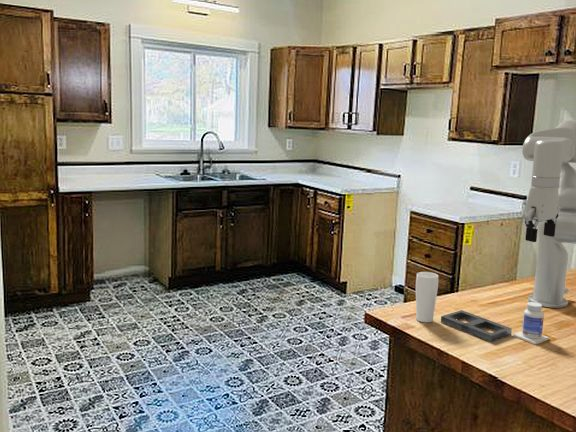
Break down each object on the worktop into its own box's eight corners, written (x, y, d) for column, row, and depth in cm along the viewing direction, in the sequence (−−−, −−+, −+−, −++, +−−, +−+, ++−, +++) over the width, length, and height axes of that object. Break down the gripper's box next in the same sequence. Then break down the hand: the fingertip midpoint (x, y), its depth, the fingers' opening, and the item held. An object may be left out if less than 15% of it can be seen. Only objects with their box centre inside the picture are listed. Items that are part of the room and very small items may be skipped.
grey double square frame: (461, 315, 175) (461, 310, 175) (511, 334, 161) (511, 328, 161) (440, 322, 170) (441, 316, 169) (490, 342, 155) (491, 335, 155)
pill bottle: (543, 340, 156) (547, 308, 154) (523, 338, 157) (527, 306, 155) (539, 332, 161) (542, 301, 159) (519, 331, 162) (523, 300, 160)
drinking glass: (439, 320, 172) (442, 274, 169) (428, 326, 167) (432, 279, 164) (420, 314, 176) (423, 270, 173) (409, 320, 171) (412, 274, 168)
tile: (526, 331, 164) (526, 329, 164) (548, 339, 158) (549, 337, 158) (513, 336, 160) (513, 334, 160) (535, 344, 154) (535, 342, 154)
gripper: (549, 177, 166) (543, 231, 170) (516, 183, 157) (511, 240, 160) (573, 180, 160) (567, 236, 164) (541, 187, 151) (535, 246, 154)
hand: (539, 238), depth 162 cm, fingers open, 9 cm apart
